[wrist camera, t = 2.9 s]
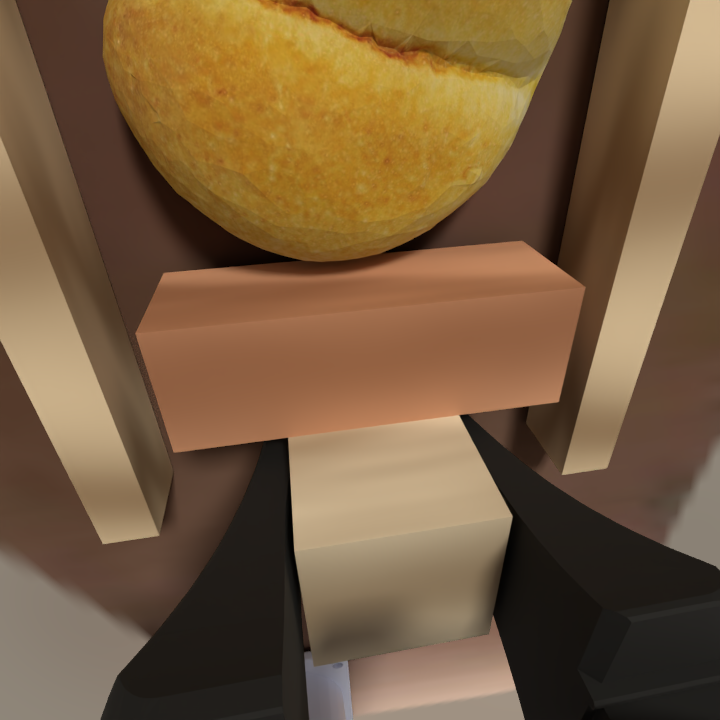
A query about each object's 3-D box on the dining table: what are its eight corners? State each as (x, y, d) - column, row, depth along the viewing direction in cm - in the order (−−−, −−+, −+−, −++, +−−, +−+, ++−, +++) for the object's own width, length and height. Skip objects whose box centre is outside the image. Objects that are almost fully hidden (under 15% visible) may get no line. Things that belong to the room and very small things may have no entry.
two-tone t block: (492, 443, 16) (591, 614, 11) (219, 481, 15) (196, 689, 10) (522, 240, 13) (690, 363, 8) (163, 272, 12) (85, 440, 7)
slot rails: (565, 417, 17) (607, 468, 15) (125, 477, 16) (103, 543, 13) (744, -285, 9) (896, -393, 6) (-211, -329, 7) (-420, -496, 5)
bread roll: (103, 177, 11) (33, 231, 8) (179, -433, 7) (101, -865, 4) (421, 279, 14) (471, 352, 10) (609, -121, 10) (788, -211, 6)
